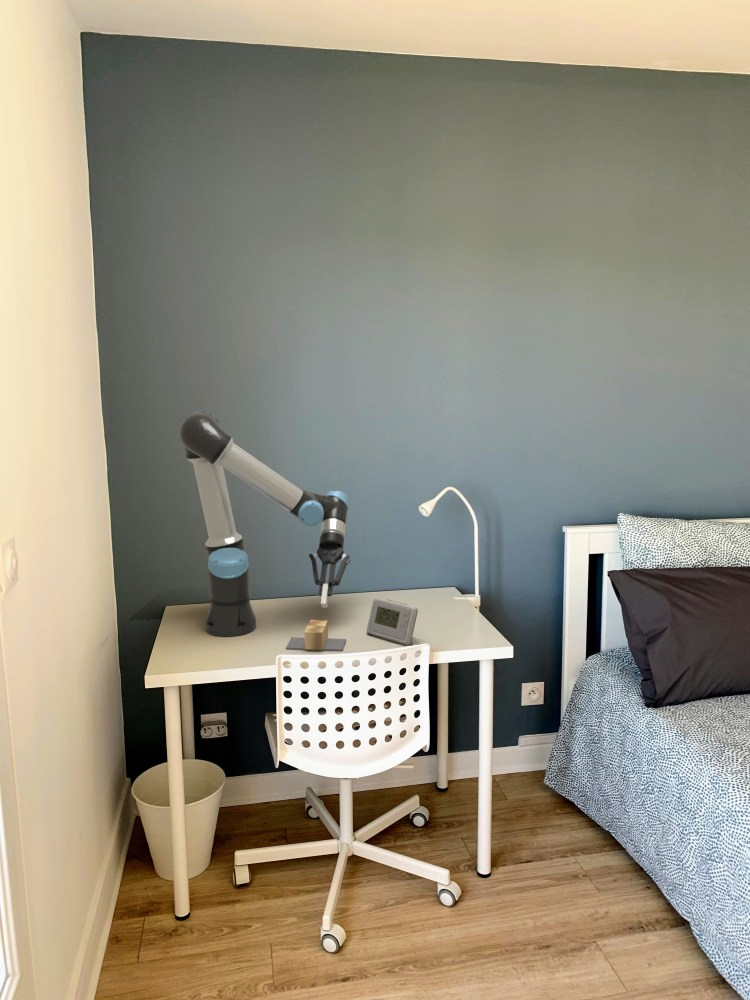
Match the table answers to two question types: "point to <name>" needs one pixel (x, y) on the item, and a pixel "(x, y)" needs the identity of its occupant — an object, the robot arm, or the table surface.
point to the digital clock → (392, 620)
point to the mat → (330, 645)
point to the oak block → (316, 634)
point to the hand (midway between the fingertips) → (323, 605)
